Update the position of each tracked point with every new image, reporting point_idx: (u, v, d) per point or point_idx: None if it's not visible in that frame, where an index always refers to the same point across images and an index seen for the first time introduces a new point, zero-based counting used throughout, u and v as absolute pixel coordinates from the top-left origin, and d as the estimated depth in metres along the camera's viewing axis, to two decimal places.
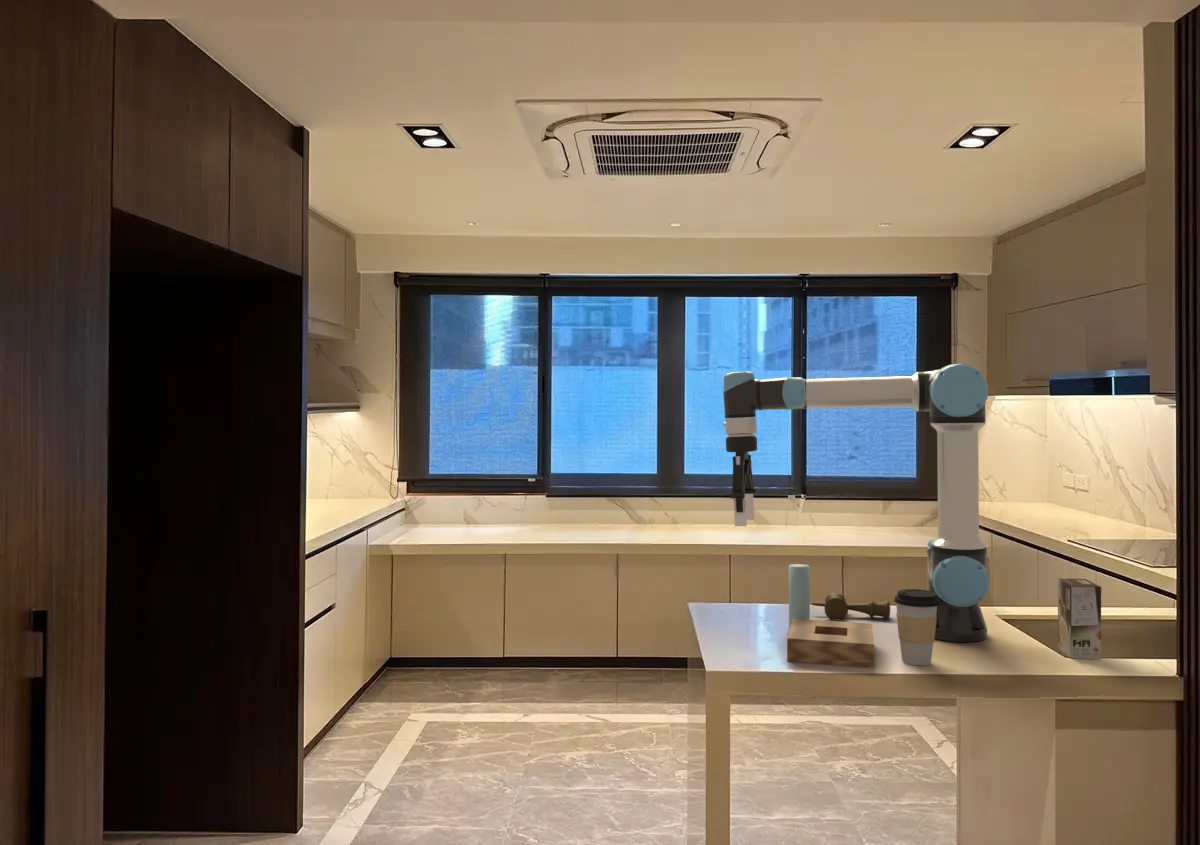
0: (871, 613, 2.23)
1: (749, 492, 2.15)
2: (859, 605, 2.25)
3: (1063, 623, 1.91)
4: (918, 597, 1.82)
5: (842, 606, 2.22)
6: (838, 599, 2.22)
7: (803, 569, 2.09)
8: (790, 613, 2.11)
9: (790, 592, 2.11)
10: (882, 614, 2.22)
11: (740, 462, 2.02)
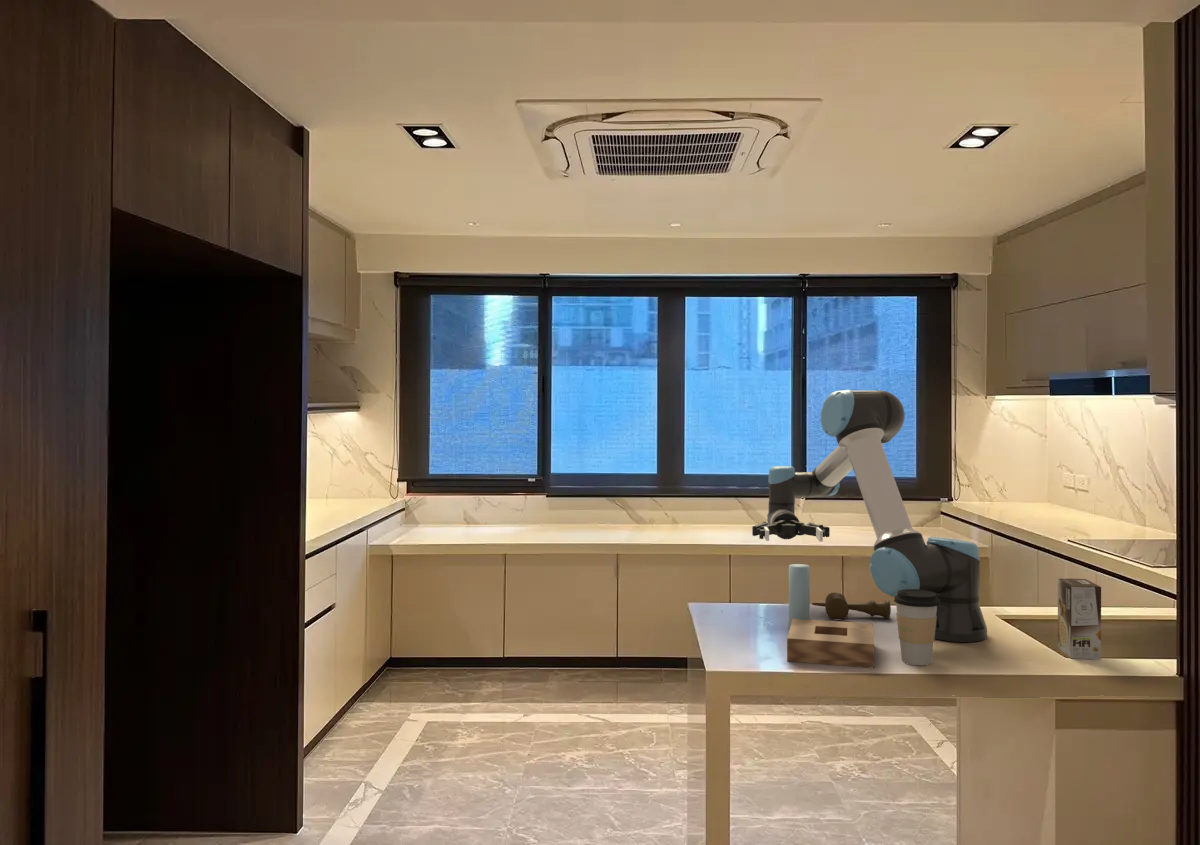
0: (872, 613, 2.23)
1: None
2: (860, 605, 2.25)
3: (1063, 623, 1.91)
4: (918, 597, 1.82)
5: (843, 606, 2.22)
6: (839, 599, 2.22)
7: (803, 569, 2.09)
8: (790, 613, 2.11)
9: (790, 592, 2.11)
10: (882, 614, 2.23)
11: None
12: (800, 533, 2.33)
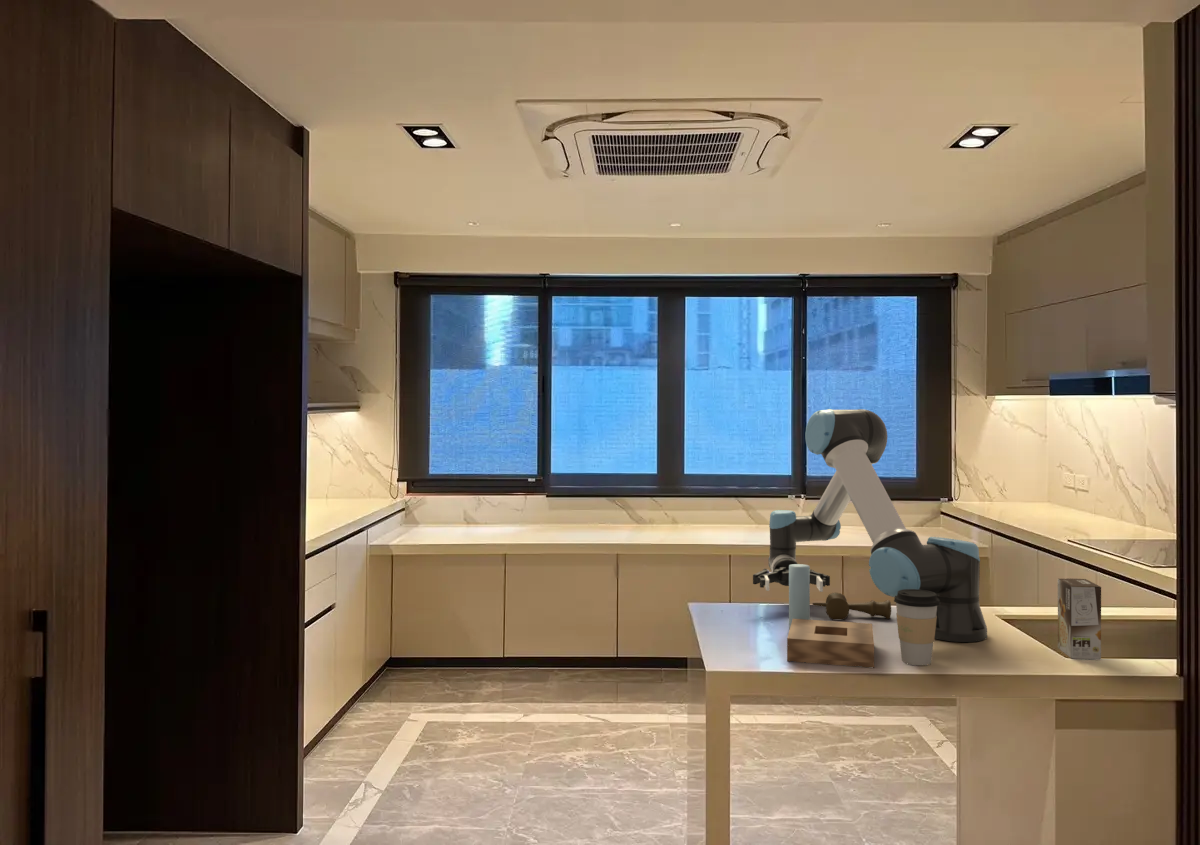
0: (872, 613, 2.23)
1: None
2: (860, 605, 2.25)
3: (1063, 623, 1.91)
4: (918, 597, 1.82)
5: (844, 606, 2.22)
6: (839, 599, 2.22)
7: (803, 569, 2.09)
8: (790, 613, 2.11)
9: (790, 592, 2.11)
10: (883, 614, 2.23)
11: None
12: None
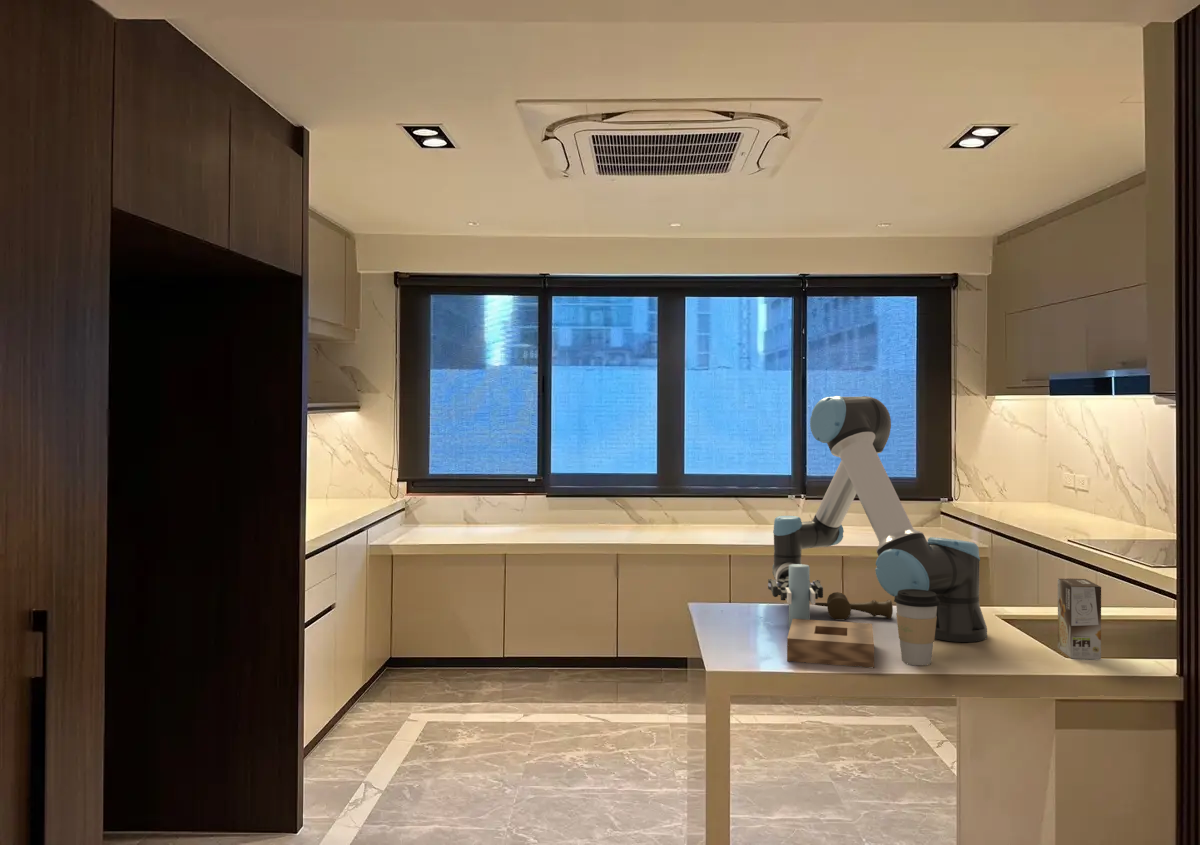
0: (874, 613, 2.23)
1: None
2: (861, 605, 2.25)
3: (1063, 623, 1.91)
4: (918, 597, 1.82)
5: (845, 606, 2.22)
6: (841, 599, 2.22)
7: (803, 569, 2.09)
8: (790, 613, 2.11)
9: None
10: (884, 614, 2.23)
11: (769, 582, 2.23)
12: None
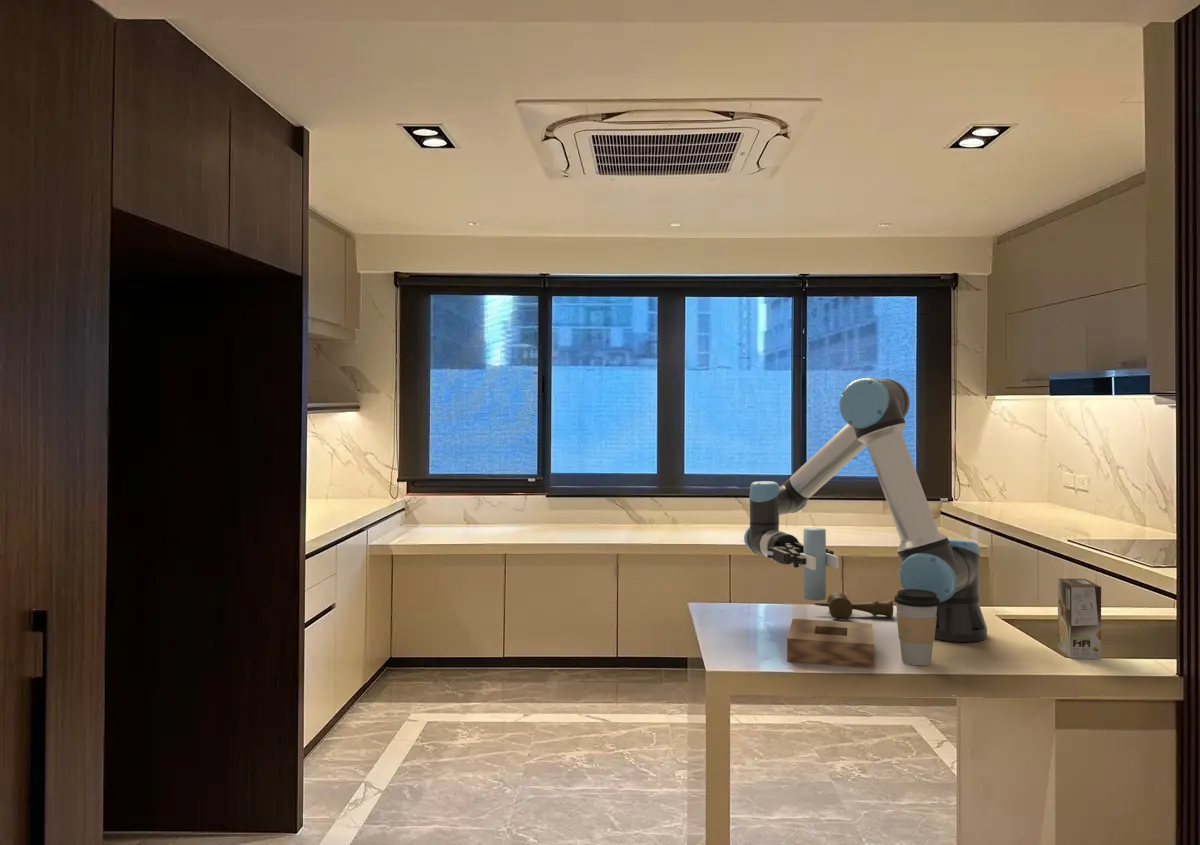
0: (875, 612, 2.24)
1: None
2: (862, 604, 2.25)
3: (1063, 623, 1.91)
4: (918, 597, 1.82)
5: (847, 606, 2.22)
6: (843, 599, 2.23)
7: (822, 532, 1.96)
8: (807, 580, 1.97)
9: None
10: (885, 613, 2.24)
11: (770, 551, 2.07)
12: None
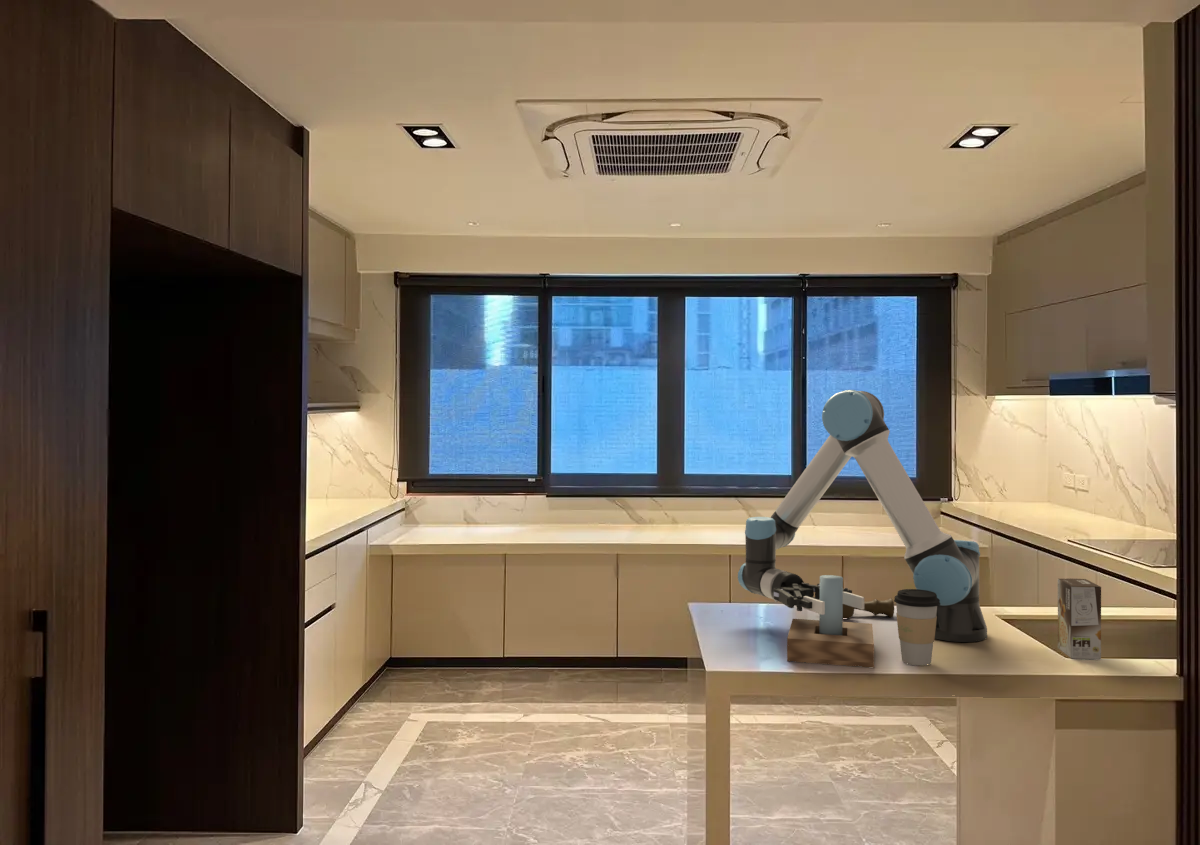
0: (876, 611, 2.24)
1: None
2: None
3: (1063, 623, 1.91)
4: (918, 597, 1.82)
5: (849, 606, 2.23)
6: None
7: (840, 580, 1.91)
8: (825, 630, 1.91)
9: (825, 607, 1.91)
10: (886, 612, 2.24)
11: (776, 592, 2.00)
12: (816, 598, 2.01)
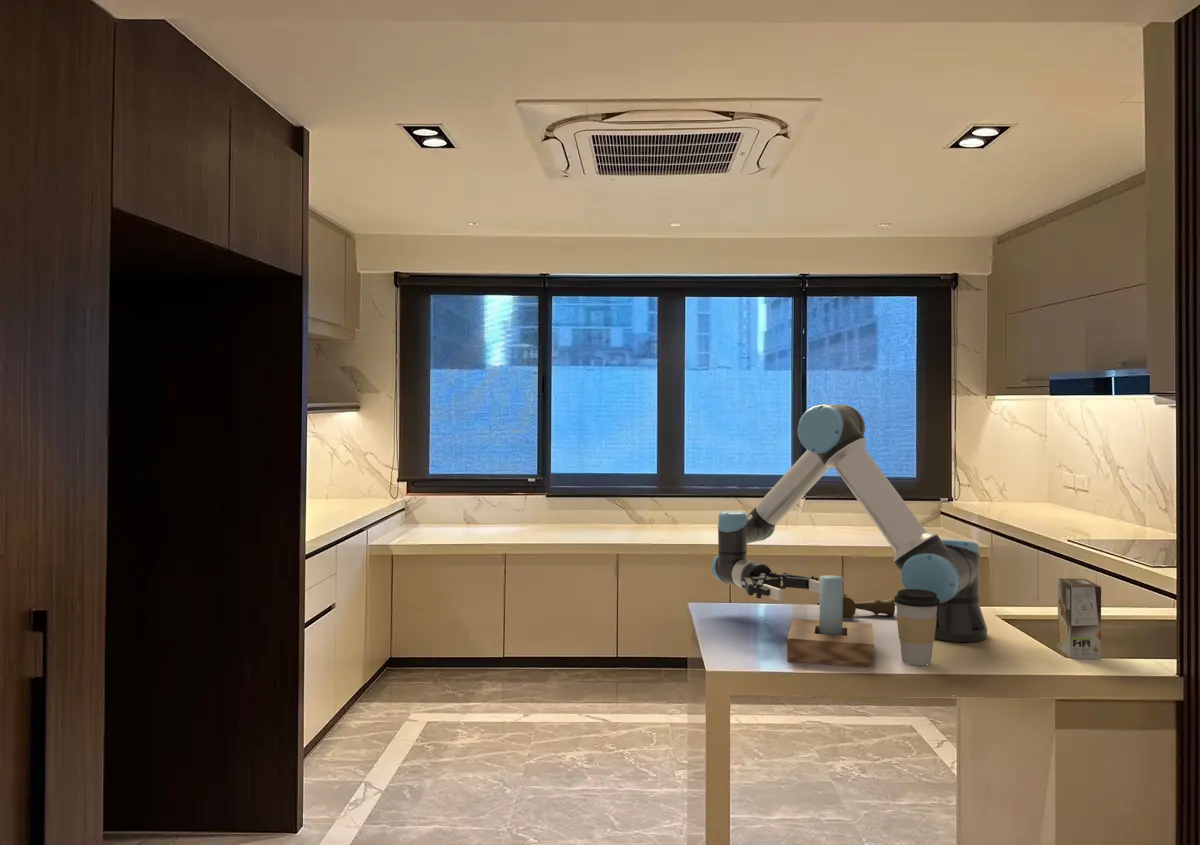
0: (877, 611, 2.25)
1: None
2: (864, 603, 2.26)
3: (1063, 623, 1.91)
4: (918, 597, 1.82)
5: (850, 605, 2.23)
6: (846, 598, 2.23)
7: (840, 580, 1.90)
8: (825, 630, 1.91)
9: (825, 607, 1.91)
10: (887, 612, 2.25)
11: (743, 581, 2.12)
12: (784, 586, 2.13)
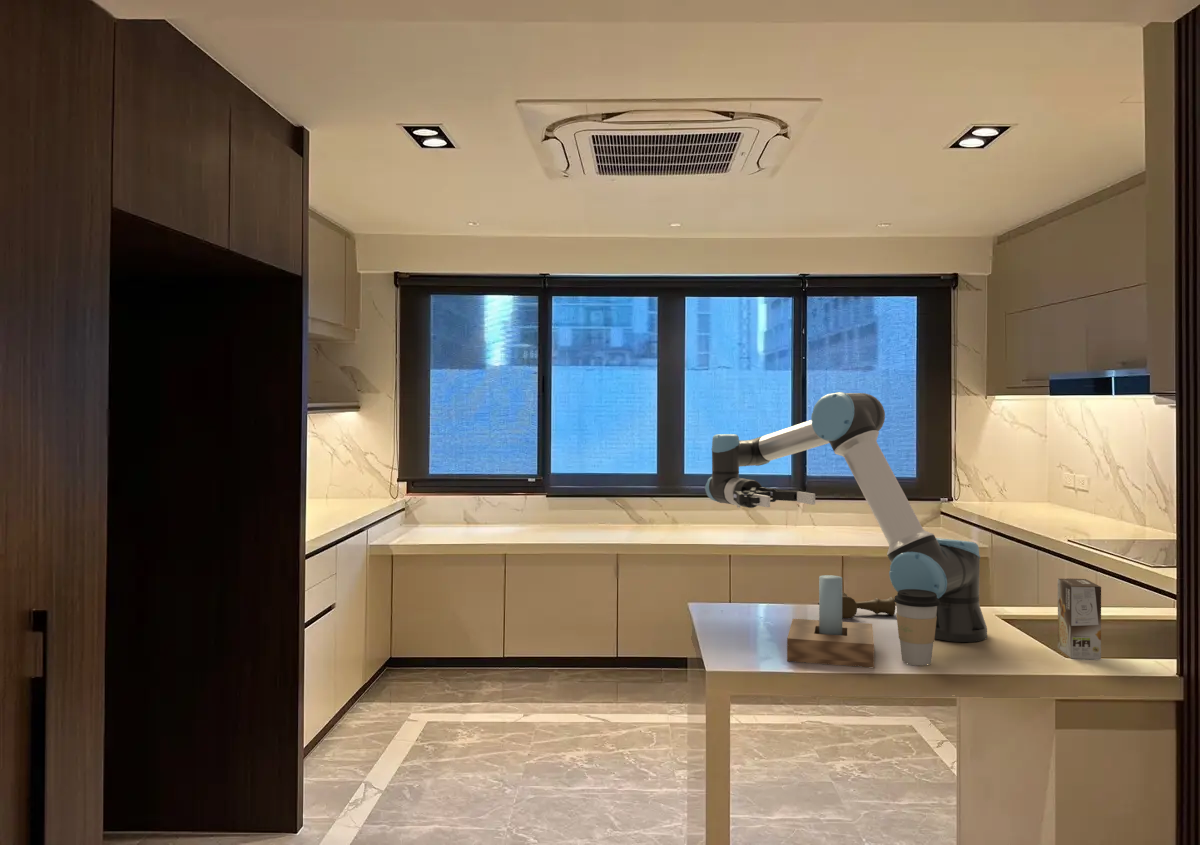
0: (877, 610, 2.26)
1: None
2: (865, 603, 2.27)
3: (1063, 623, 1.91)
4: (918, 597, 1.82)
5: (852, 605, 2.23)
6: (847, 598, 2.24)
7: (840, 580, 1.91)
8: (825, 630, 1.91)
9: (825, 607, 1.91)
10: (887, 611, 2.26)
11: (735, 493, 2.24)
12: (774, 499, 2.26)
